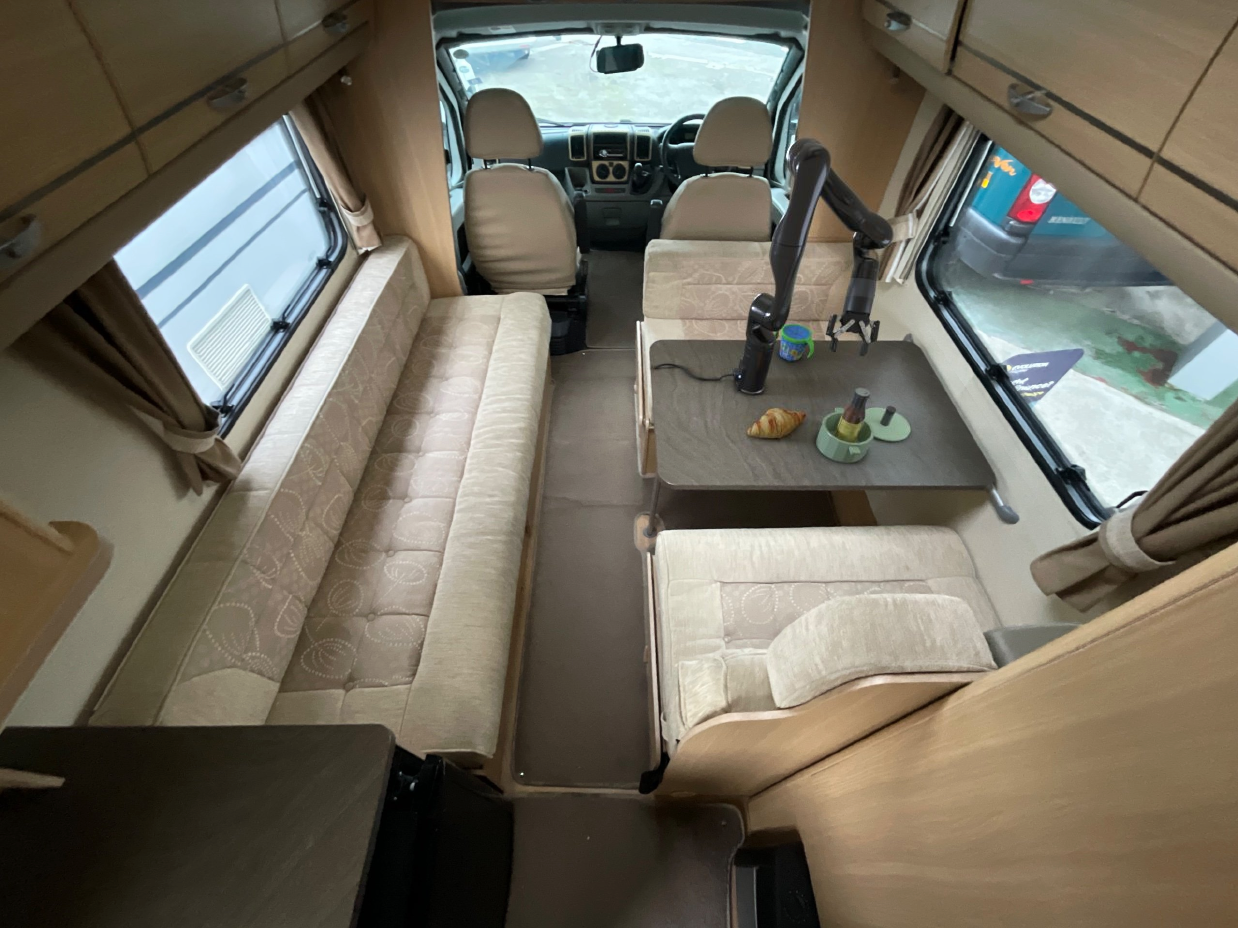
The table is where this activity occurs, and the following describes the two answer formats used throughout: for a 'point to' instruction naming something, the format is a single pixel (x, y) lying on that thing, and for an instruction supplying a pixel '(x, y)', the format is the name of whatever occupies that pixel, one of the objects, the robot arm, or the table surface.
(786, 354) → the snack cup
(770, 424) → the croissant
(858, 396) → the sauce bottle
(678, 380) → the table surface
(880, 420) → the pot lid
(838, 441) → the pot
